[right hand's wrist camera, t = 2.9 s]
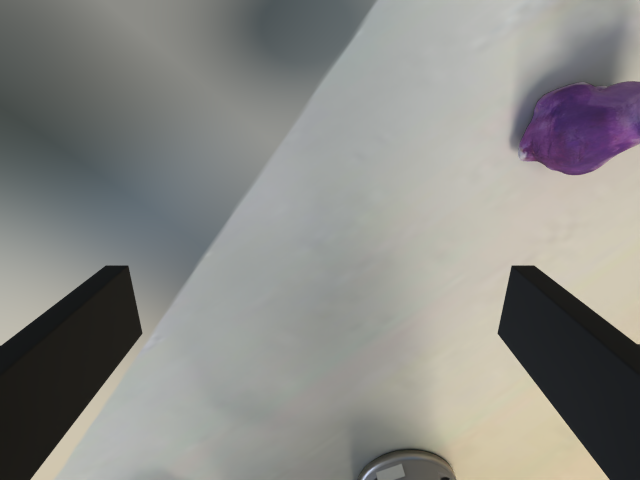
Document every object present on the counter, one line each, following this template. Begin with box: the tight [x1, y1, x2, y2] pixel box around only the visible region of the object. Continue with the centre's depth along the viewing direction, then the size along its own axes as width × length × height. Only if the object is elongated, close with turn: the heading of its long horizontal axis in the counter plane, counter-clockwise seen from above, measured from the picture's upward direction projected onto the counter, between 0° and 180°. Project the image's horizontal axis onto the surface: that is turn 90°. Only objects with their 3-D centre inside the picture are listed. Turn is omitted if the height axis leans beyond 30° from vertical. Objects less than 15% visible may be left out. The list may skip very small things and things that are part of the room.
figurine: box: [518, 81, 640, 175], centre depth 30 cm, size 9×10×15 cm
